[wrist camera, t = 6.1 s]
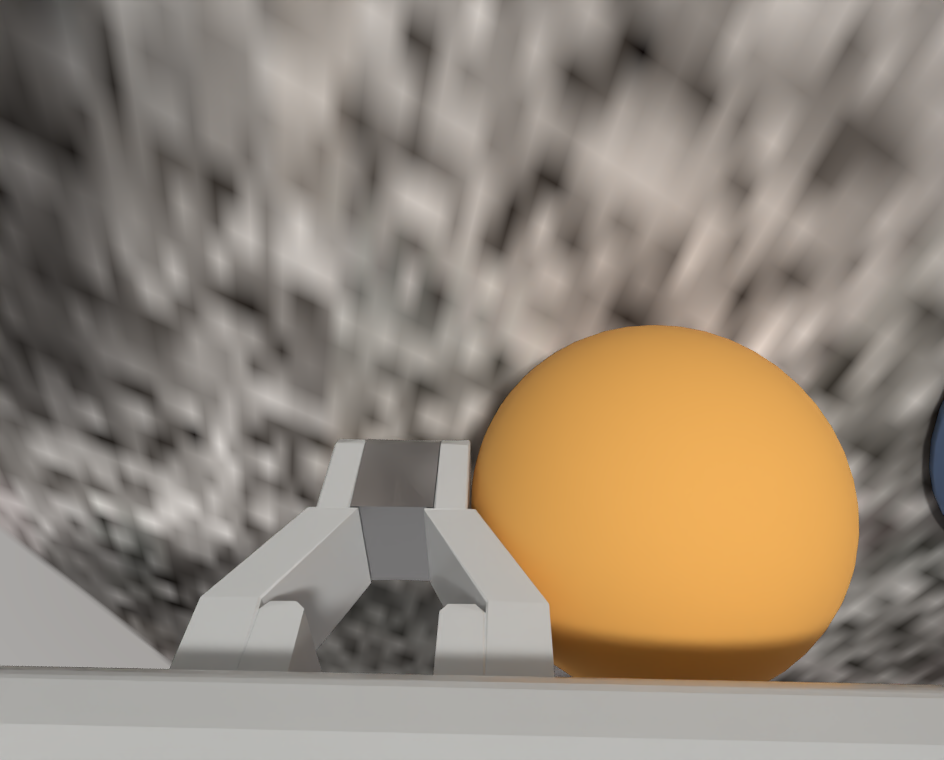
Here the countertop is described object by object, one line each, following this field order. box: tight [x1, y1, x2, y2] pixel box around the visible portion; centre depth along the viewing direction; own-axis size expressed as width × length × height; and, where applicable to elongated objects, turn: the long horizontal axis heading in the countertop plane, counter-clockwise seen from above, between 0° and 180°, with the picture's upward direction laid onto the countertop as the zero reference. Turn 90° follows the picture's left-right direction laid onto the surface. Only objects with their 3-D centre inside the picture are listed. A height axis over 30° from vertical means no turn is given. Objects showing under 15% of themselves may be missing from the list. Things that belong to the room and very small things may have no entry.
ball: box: [471, 325, 859, 681], centre depth 11 cm, size 6×6×6 cm
